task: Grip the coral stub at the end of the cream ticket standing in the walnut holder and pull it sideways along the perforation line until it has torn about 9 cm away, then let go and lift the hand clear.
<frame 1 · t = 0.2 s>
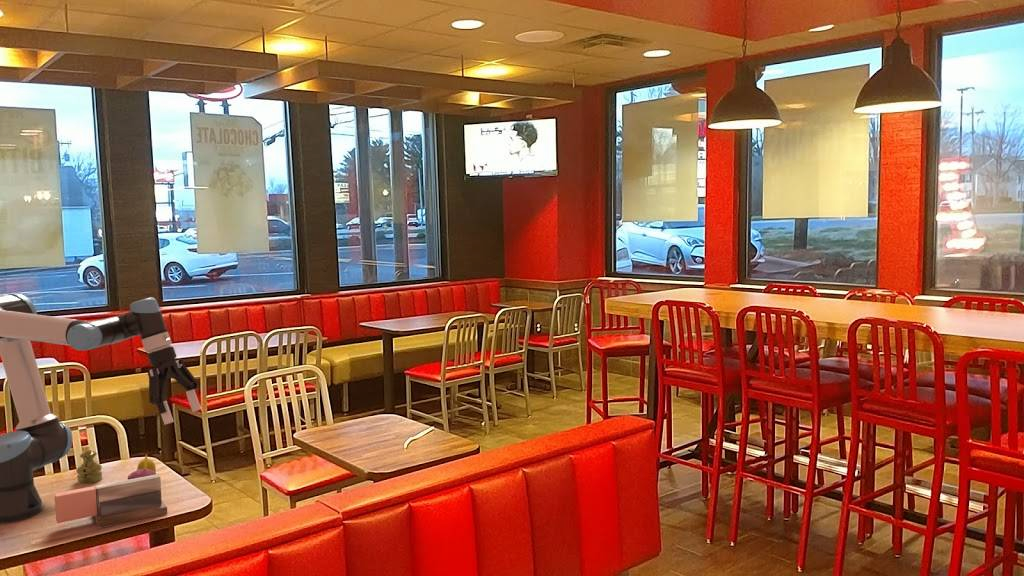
hand: (183, 416, 240), 28 cm above the table, tool tilted 20°, fingers open, 13 cm apart
stub: (76, 504, 229), point 6 cm above the table, slide at 0.0 cm
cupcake: (143, 492, 256), on the table
ticket holder: (130, 514, 237), on the table
lemon: (147, 482, 265), on the table
christmas tree figurine: (90, 480, 267), on the table
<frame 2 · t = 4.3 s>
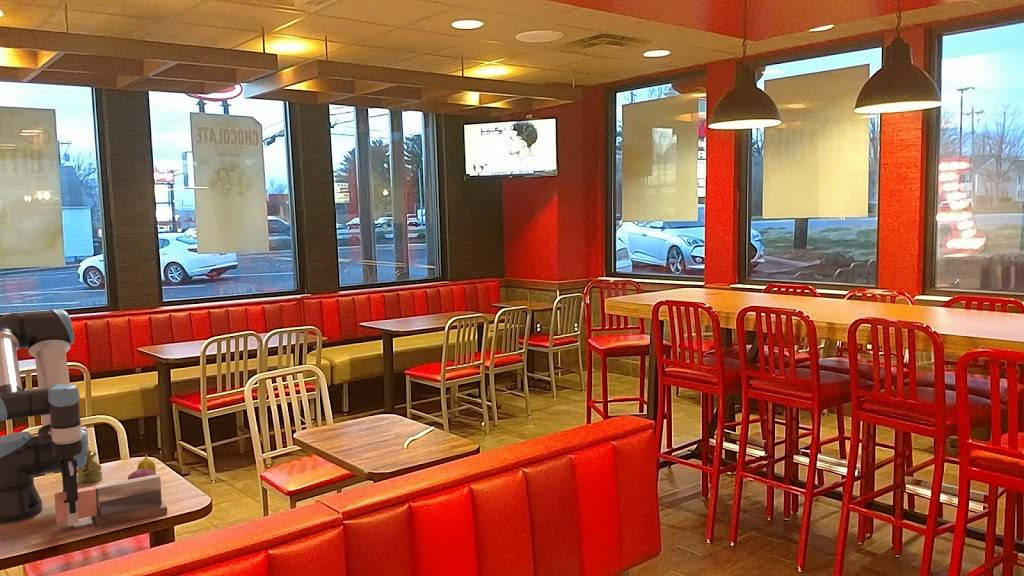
hand: (72, 521, 228), 2 cm above the table, tool pointing down, fingers closed on stub, 3 cm apart
stub: (76, 504, 229), point 6 cm above the table, slide at 0.0 cm, touching gripper
everything else where it was.
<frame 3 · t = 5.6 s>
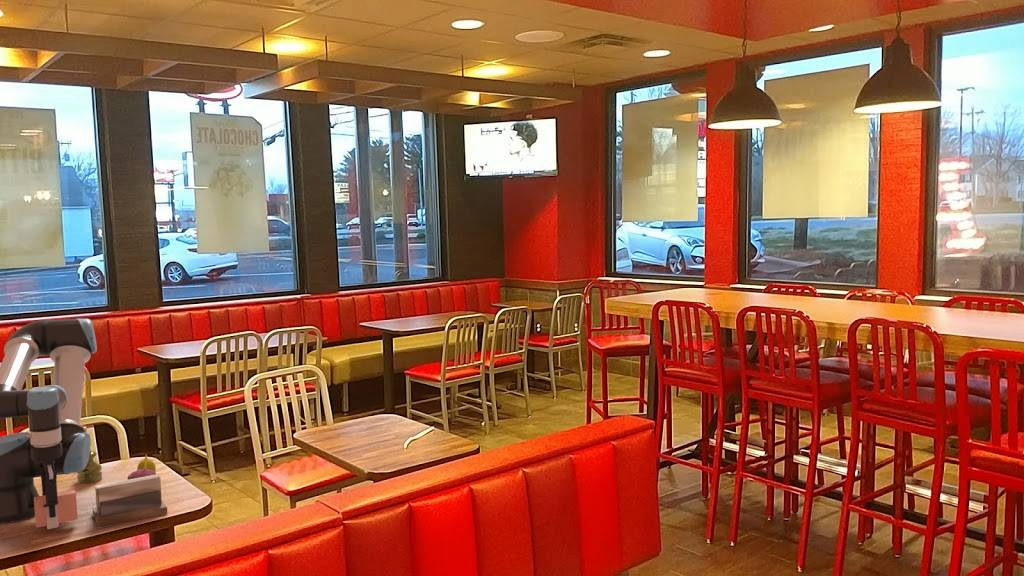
hand: (51, 525, 226), 2 cm above the table, tool pointing down, fingers closed on stub, 3 cm apart
stub: (55, 508, 226), point 6 cm above the table, slide at 5.0 cm, touching gripper
everything else where it was.
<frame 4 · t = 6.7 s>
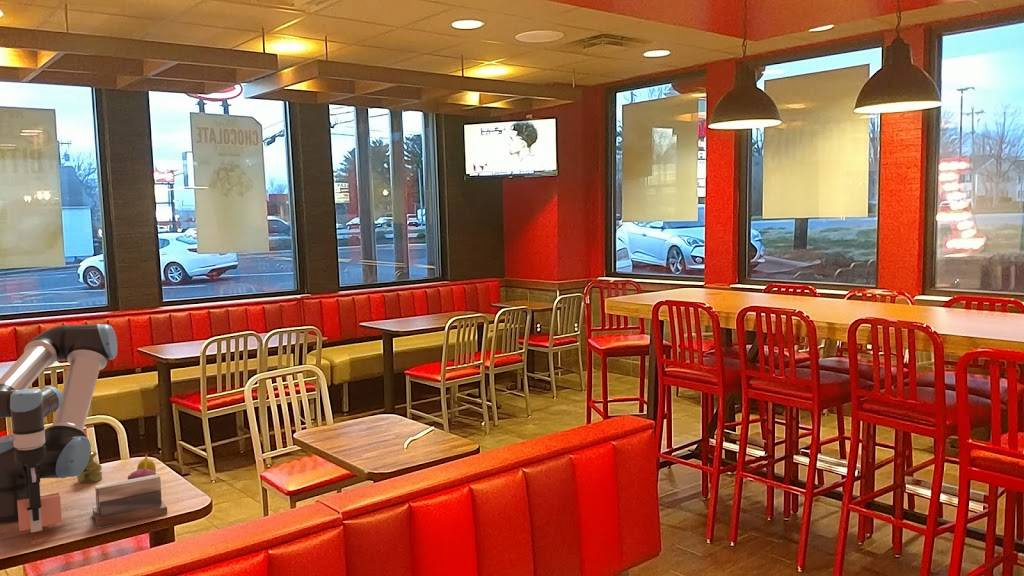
hand: (35, 528, 223), 2 cm above the table, tool pointing down, fingers closed on stub, 3 cm apart
stub: (39, 511, 223), point 6 cm above the table, slide at 8.9 cm, touching gripper
everything else where it was.
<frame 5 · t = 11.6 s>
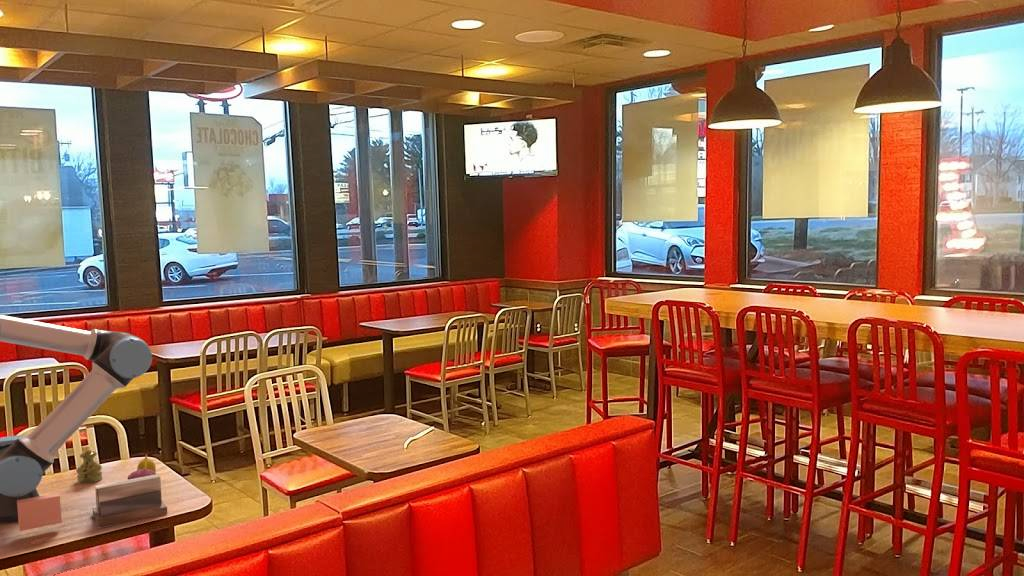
stub: (39, 511, 223), point 6 cm above the table, slide at 9.0 cm
everything else where it was.
at the end: stub slide at 9.0 cm; the gripper is holding nothing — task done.
